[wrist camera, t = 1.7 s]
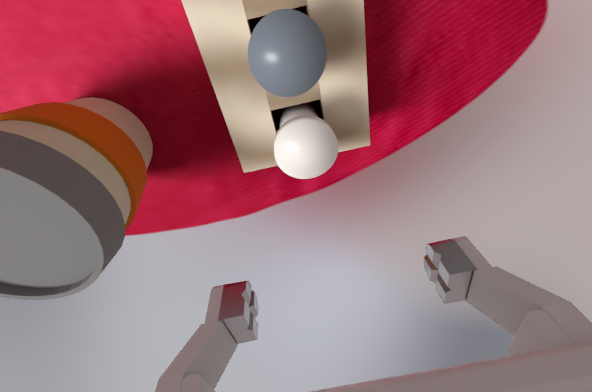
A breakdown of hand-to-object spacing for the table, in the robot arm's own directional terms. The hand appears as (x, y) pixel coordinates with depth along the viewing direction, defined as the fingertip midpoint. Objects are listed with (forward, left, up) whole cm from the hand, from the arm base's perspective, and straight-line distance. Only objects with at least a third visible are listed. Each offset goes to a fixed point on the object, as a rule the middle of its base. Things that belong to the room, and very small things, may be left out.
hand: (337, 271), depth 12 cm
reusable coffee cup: (-1, -20, -22) cm, 29 cm away
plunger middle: (-7, 0, -18) cm, 19 cm away
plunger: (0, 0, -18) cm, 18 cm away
